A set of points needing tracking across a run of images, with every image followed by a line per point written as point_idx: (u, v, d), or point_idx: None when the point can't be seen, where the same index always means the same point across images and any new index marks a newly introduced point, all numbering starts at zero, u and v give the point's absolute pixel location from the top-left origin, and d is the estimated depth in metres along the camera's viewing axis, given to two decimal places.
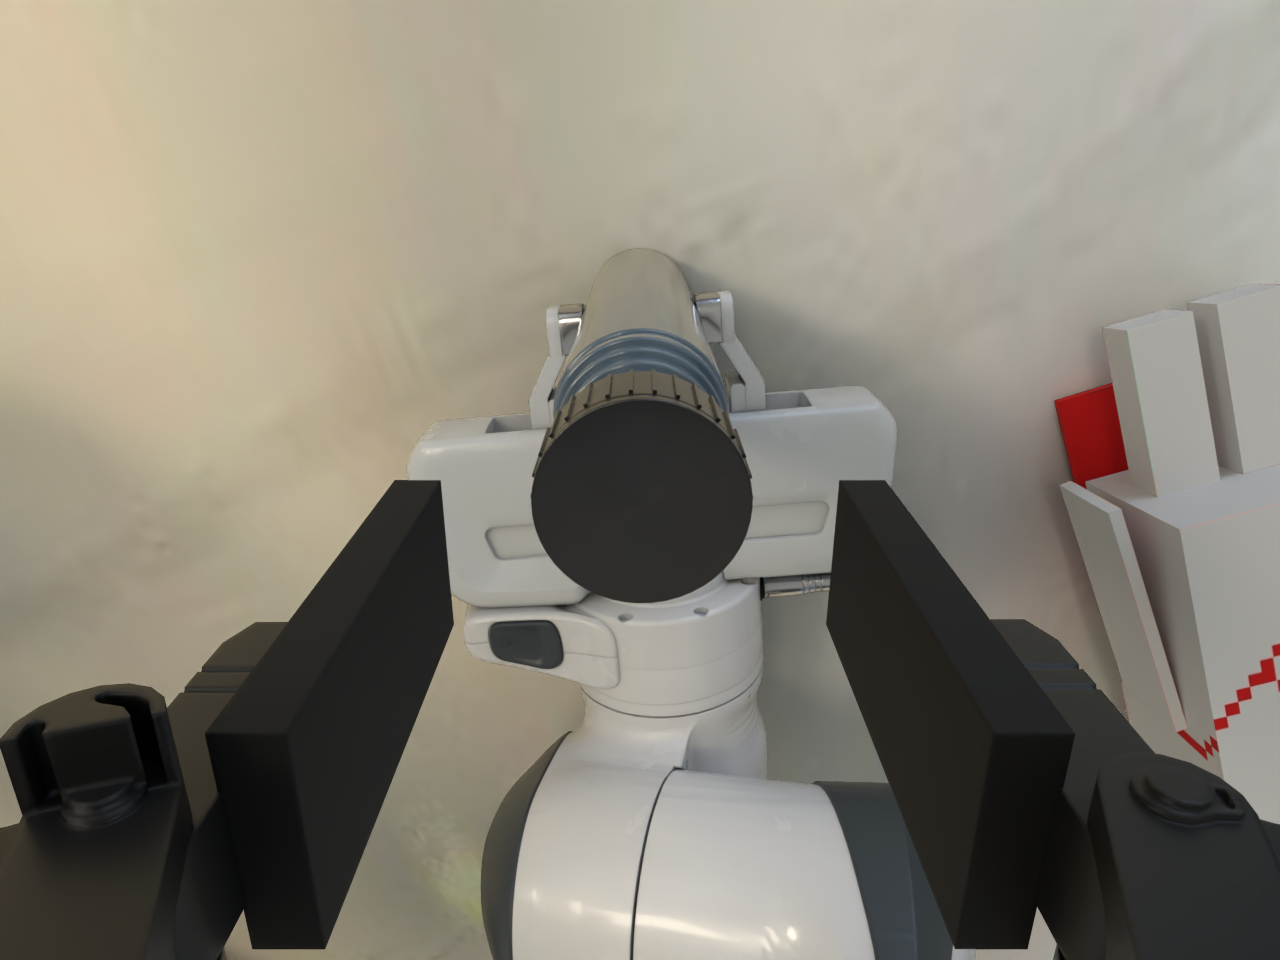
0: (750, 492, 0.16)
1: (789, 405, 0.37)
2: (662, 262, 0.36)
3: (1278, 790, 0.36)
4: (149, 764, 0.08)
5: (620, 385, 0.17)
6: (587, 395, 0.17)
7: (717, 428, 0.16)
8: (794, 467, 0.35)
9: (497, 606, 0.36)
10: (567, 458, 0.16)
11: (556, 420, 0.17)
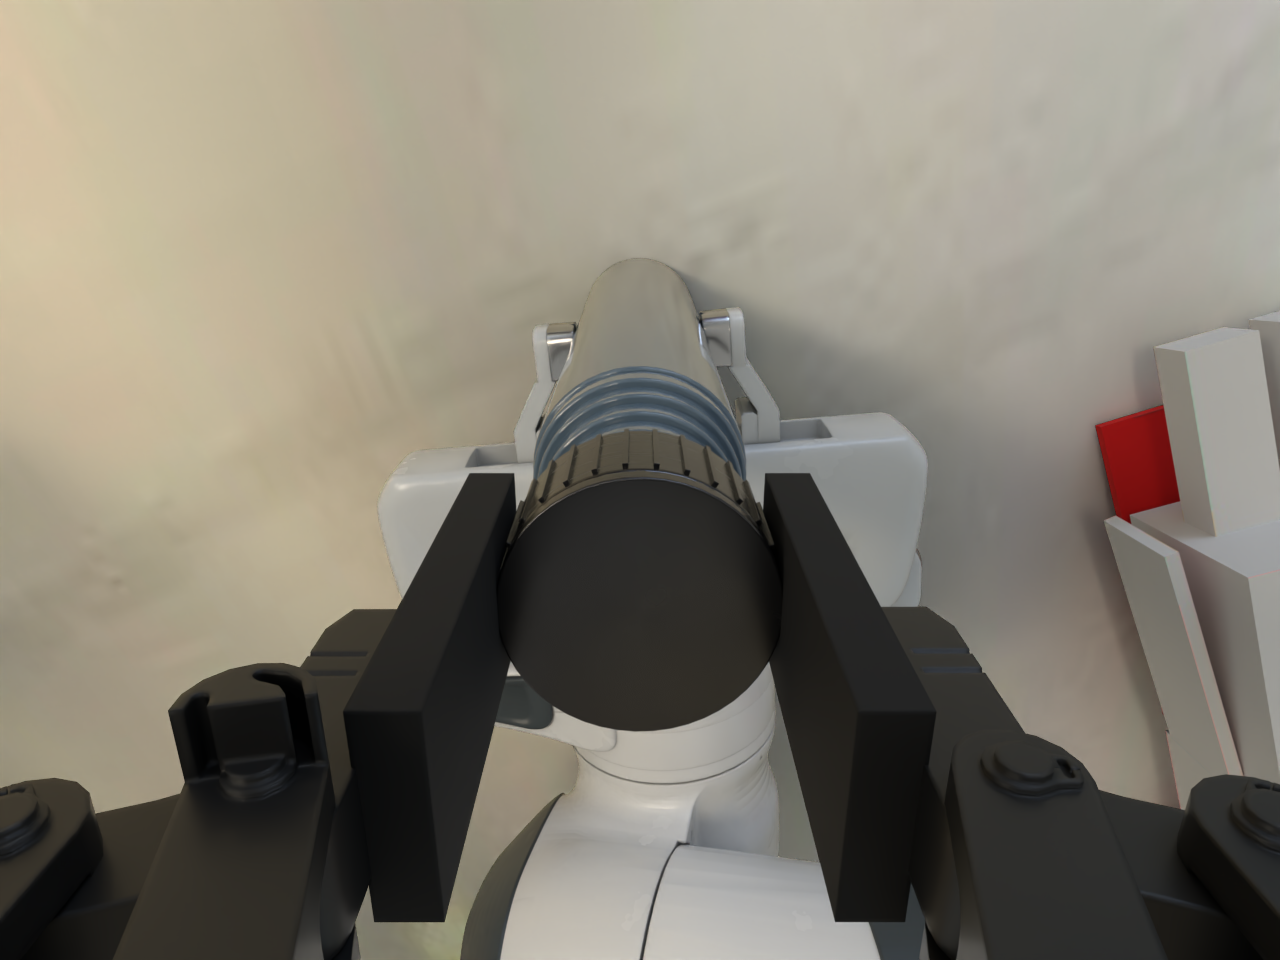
0: (781, 595, 0.12)
1: (806, 434, 0.33)
2: (664, 275, 0.32)
3: None
4: (298, 741, 0.08)
5: (611, 453, 0.13)
6: (569, 466, 0.13)
7: (739, 515, 0.12)
8: None
9: None
10: (542, 553, 0.12)
11: (530, 496, 0.13)
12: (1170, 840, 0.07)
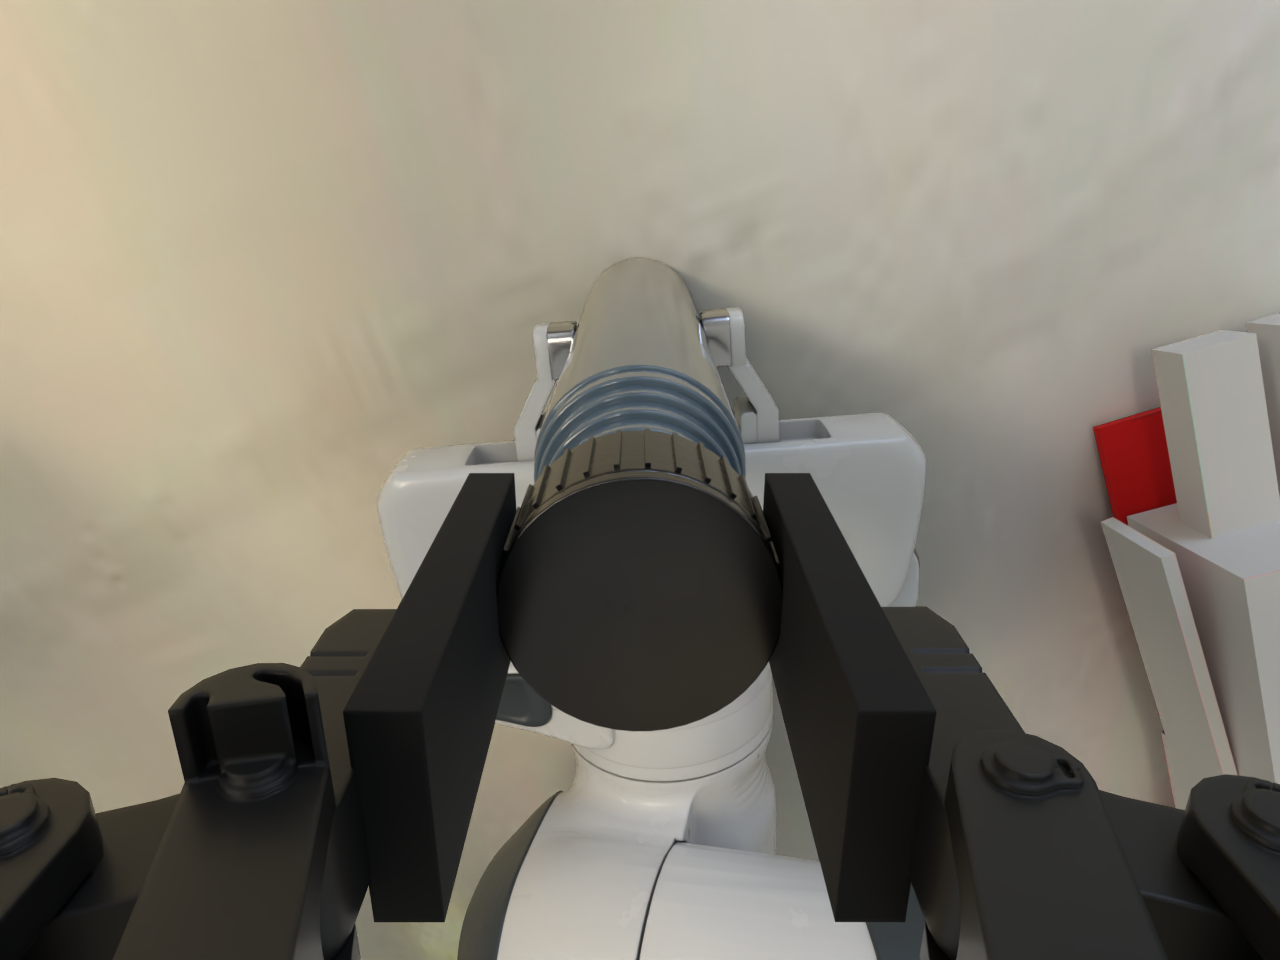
0: (566, 499, 0.12)
1: (805, 434, 0.33)
2: (664, 274, 0.32)
3: None
4: (299, 742, 0.08)
5: None
6: None
7: (504, 566, 0.12)
8: None
9: None
10: (614, 707, 0.13)
11: None
12: (1170, 840, 0.07)
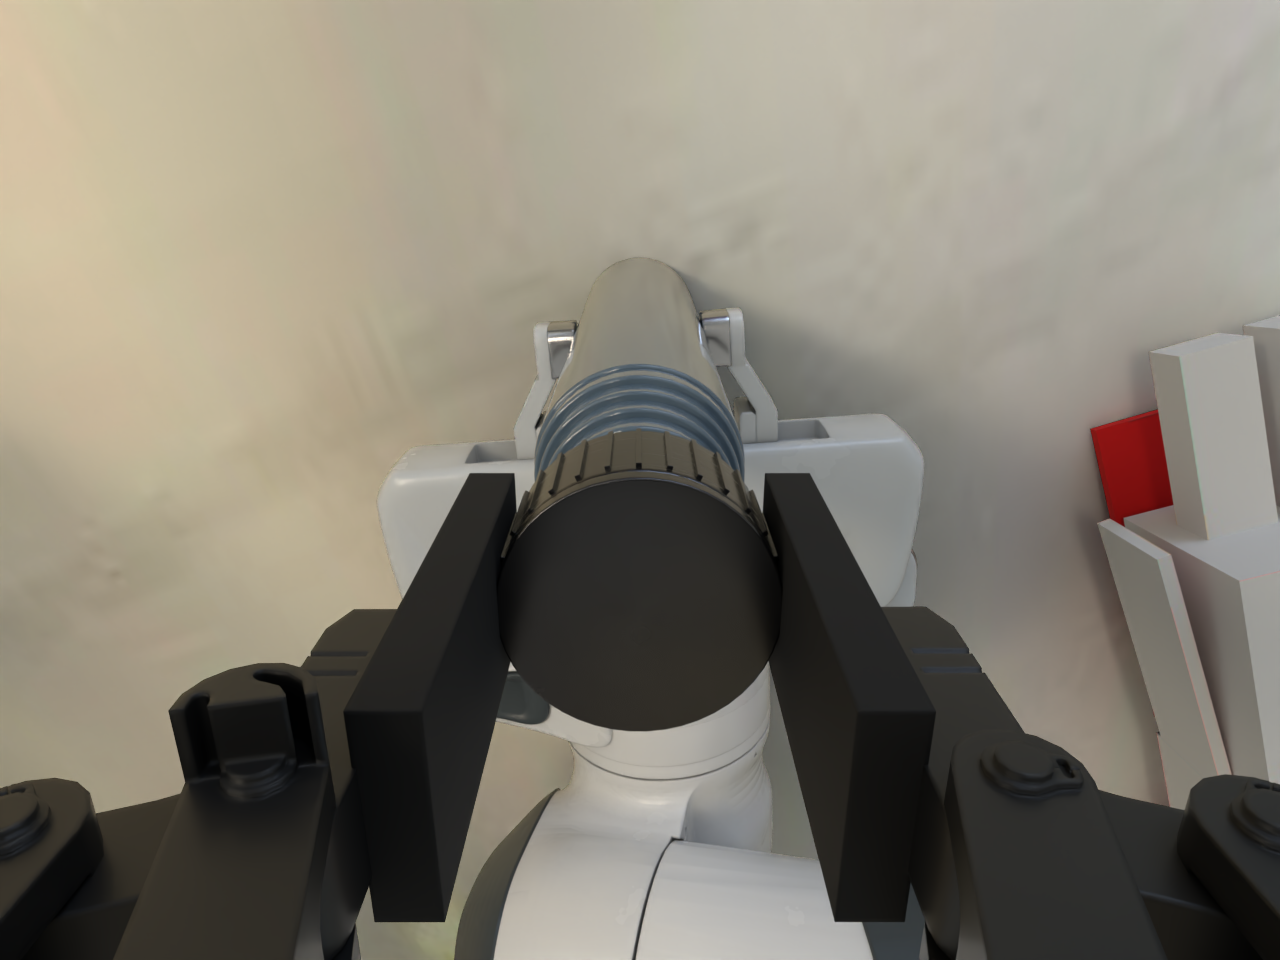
0: (553, 705, 0.13)
1: (804, 434, 0.33)
2: (664, 274, 0.32)
3: None
4: (299, 741, 0.08)
5: None
6: None
7: (640, 729, 0.13)
8: None
9: None
10: (754, 599, 0.12)
11: None
12: (1169, 840, 0.07)
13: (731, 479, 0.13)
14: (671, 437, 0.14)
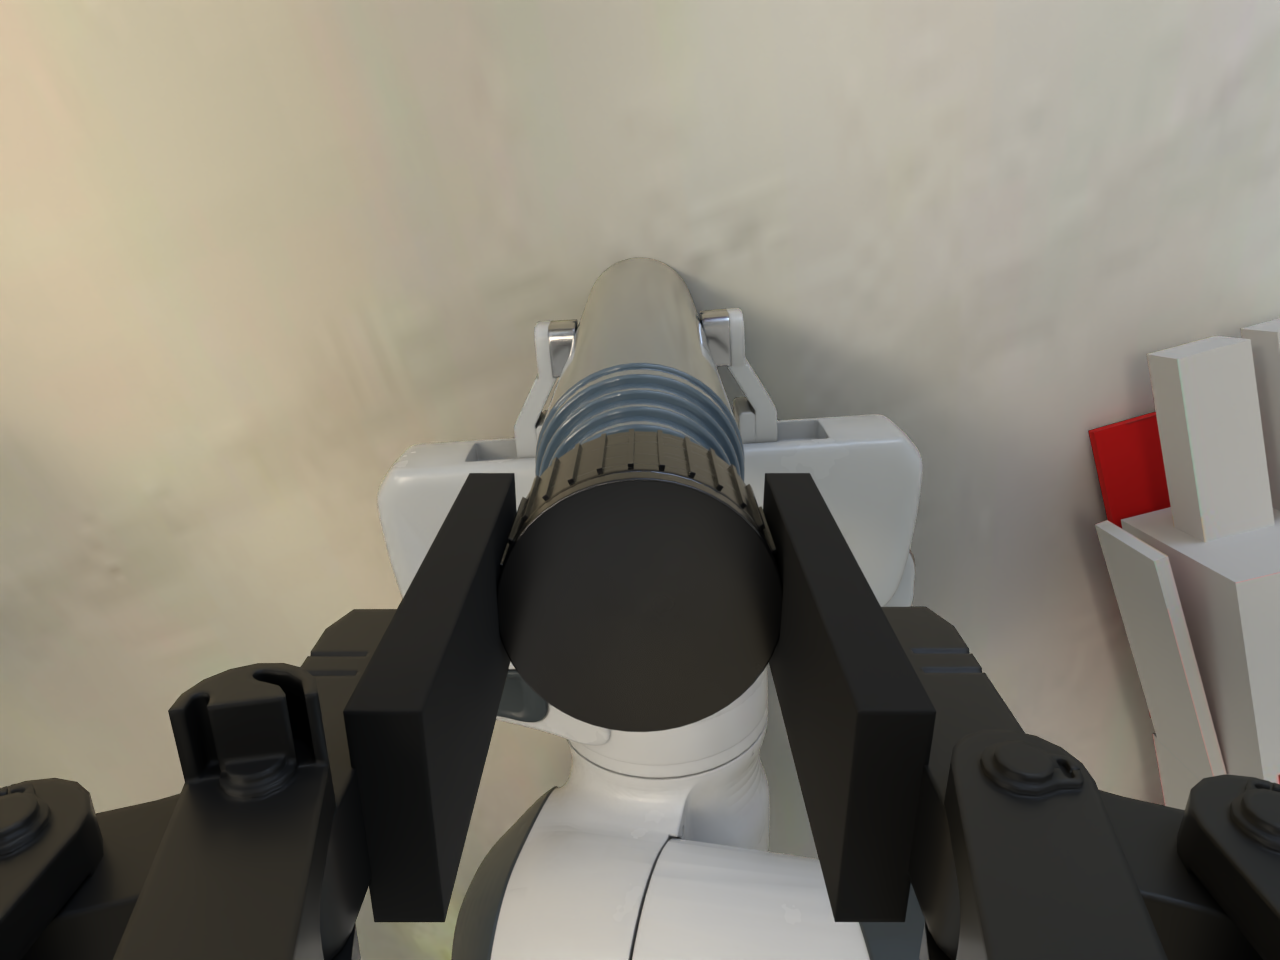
0: (772, 652, 0.13)
1: (803, 434, 0.33)
2: (665, 274, 0.32)
3: None
4: (298, 742, 0.08)
5: (675, 455, 0.13)
6: (632, 450, 0.13)
7: (774, 565, 0.12)
8: None
9: None
10: (581, 520, 0.12)
11: (577, 459, 0.13)
12: (1169, 840, 0.07)
13: None
14: None
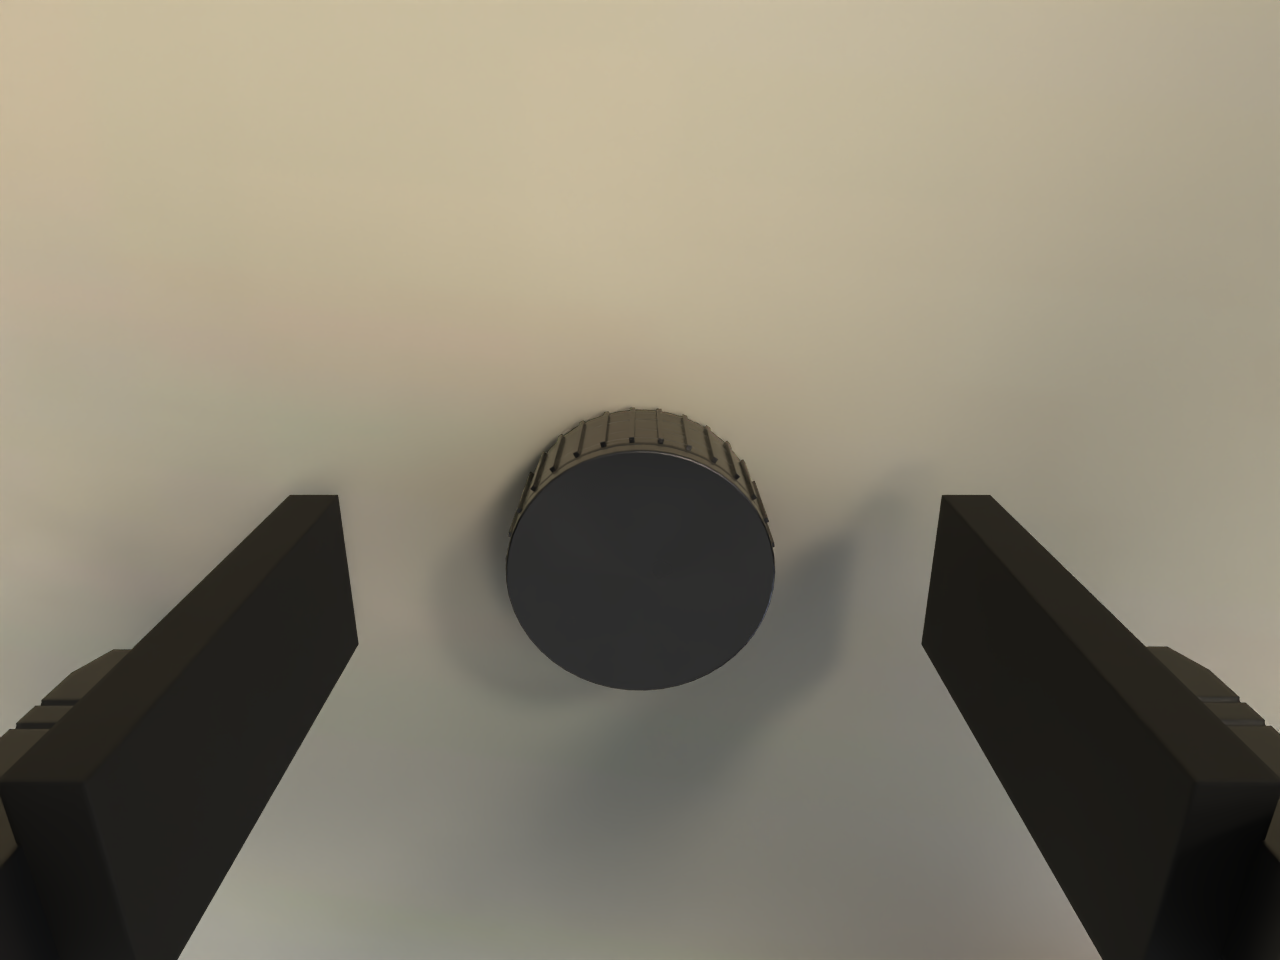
0: (764, 614, 0.14)
1: None
2: None
3: None
4: None
5: (673, 431, 0.14)
6: (633, 426, 0.14)
7: (765, 531, 0.13)
8: None
9: None
10: (586, 490, 0.13)
11: (582, 435, 0.14)
12: None
13: None
14: None
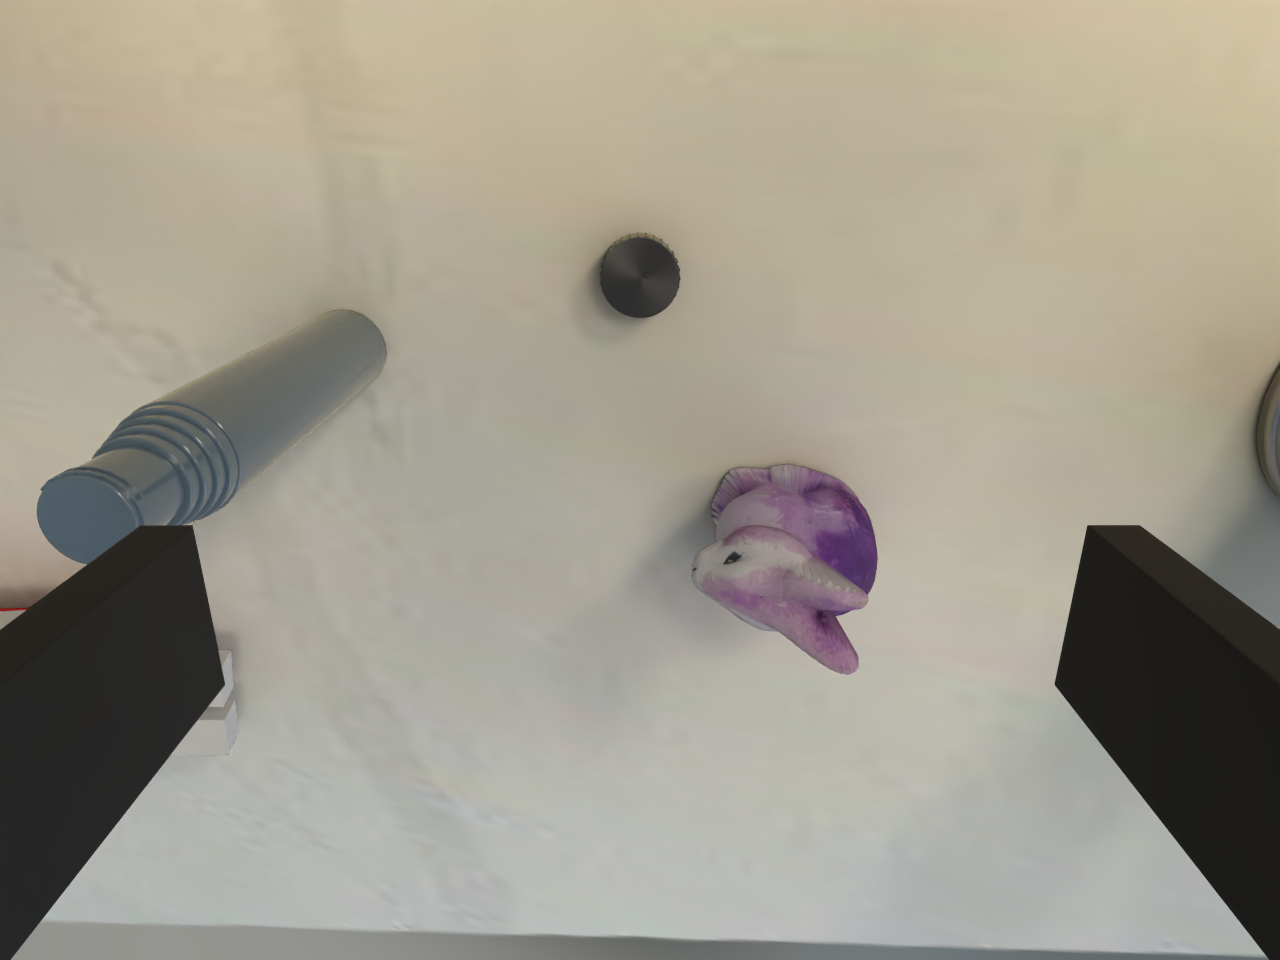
0: (676, 290, 0.46)
1: None
2: None
3: None
4: None
5: (649, 236, 0.46)
6: (638, 234, 0.46)
7: (676, 263, 0.46)
8: None
9: None
10: (624, 249, 0.45)
11: (622, 238, 0.46)
12: None
13: None
14: None
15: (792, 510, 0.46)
